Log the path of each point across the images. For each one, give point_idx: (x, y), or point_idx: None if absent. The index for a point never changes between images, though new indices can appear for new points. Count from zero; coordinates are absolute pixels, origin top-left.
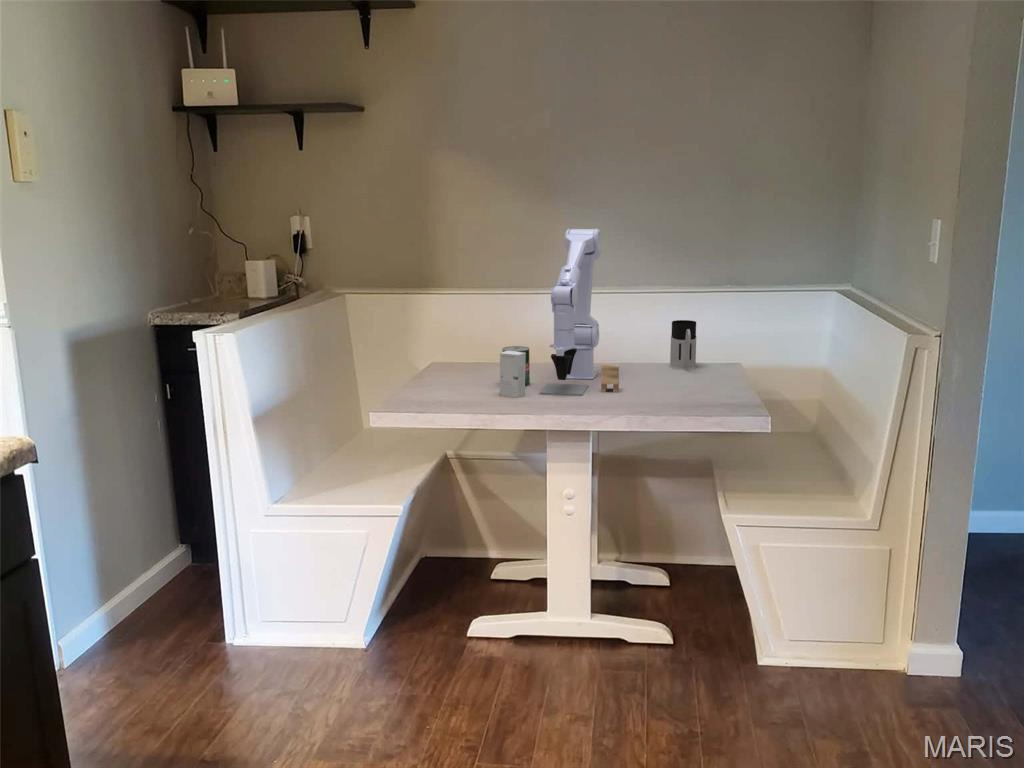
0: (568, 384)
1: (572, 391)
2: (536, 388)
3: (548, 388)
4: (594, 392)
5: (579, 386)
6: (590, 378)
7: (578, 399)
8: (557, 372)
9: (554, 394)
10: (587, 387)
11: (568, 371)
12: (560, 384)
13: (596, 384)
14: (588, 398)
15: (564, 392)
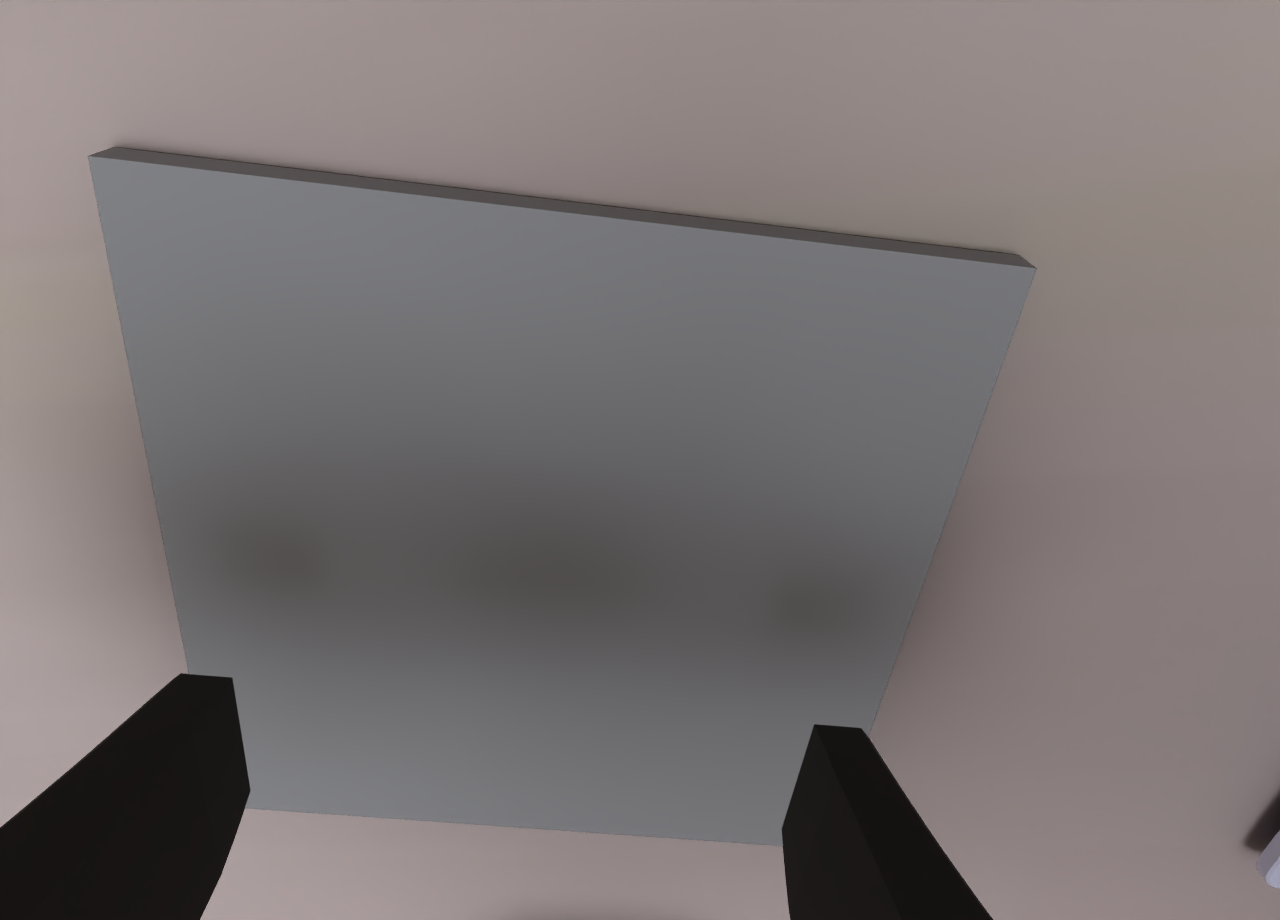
0: (901, 629)
1: (365, 699)
2: (768, 21)
3: (545, 326)
4: (505, 878)
5: (734, 764)
6: (1270, 862)
7: (29, 747)
8: (40, 819)
9: (161, 447)
10: (731, 830)
11: (798, 872)
12: (921, 514)
13: (990, 886)
14: None
15: (259, 603)
